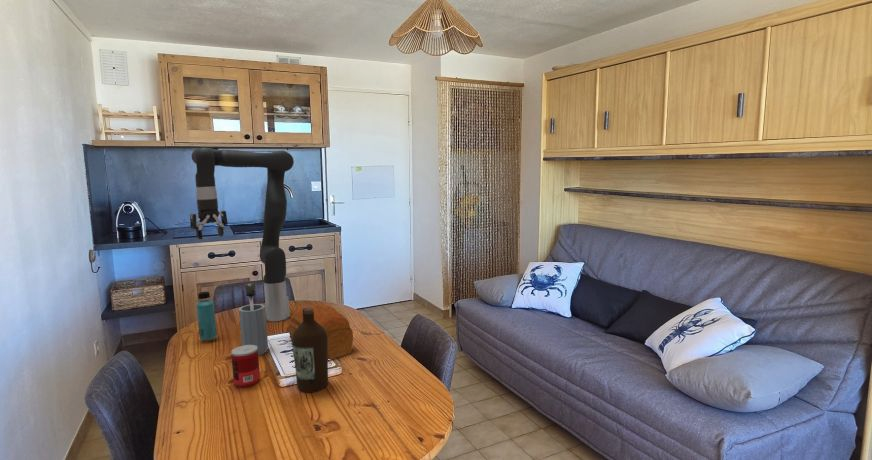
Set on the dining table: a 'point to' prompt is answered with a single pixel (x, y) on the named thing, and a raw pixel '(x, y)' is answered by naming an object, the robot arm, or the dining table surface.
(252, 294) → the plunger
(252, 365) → the canned food
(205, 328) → the beverage bottle
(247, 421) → the dining table surface
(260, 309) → the grey utensil holder
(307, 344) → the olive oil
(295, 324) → the bread
